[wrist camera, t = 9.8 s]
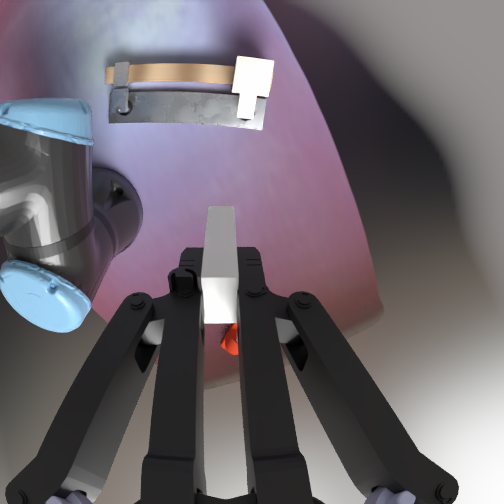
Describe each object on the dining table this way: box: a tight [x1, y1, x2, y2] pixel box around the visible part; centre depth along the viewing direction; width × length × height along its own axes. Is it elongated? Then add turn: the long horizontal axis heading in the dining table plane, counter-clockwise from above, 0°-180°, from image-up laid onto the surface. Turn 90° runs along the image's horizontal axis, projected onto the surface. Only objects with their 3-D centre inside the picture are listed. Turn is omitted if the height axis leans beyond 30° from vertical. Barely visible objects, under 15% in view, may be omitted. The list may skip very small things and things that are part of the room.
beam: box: [105, 63, 273, 89], centre depth 30 cm, size 22×2×3 cm, turn 82°
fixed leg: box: [112, 62, 130, 113], centre depth 29 cm, size 2×7×2 cm, turn 172°
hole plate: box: [109, 91, 267, 130], centre depth 33 cm, size 22×4×1 cm, turn 82°
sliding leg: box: [232, 56, 274, 119], centre depth 30 cm, size 4×8×8 cm, turn 172°
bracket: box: [222, 323, 238, 355], centre depth 58 cm, size 12×4×5 cm, turn 156°
